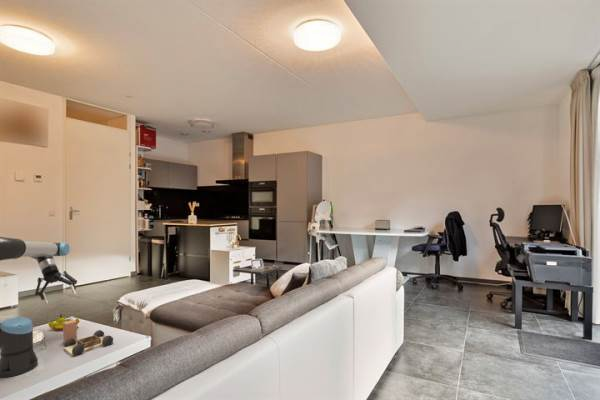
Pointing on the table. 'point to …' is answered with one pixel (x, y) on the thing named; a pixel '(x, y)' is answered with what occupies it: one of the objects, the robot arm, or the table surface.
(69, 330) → the pink rectangular block
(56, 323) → the toy boat
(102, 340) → the chassis
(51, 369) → the table surface
